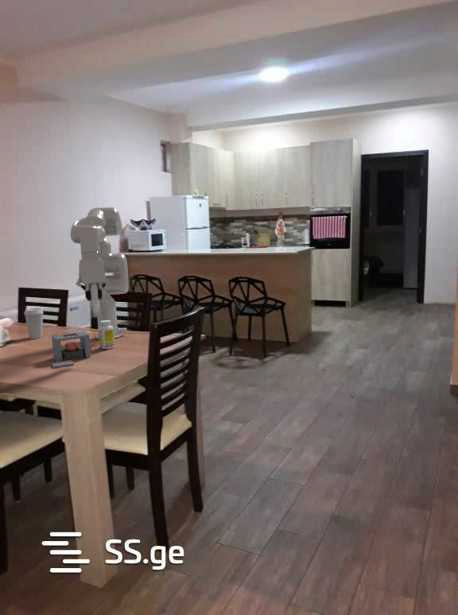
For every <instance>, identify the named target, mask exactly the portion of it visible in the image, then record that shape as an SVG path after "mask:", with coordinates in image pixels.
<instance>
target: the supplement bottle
mask: <svg viewBox="0 0 458 615" xmlns="http://www.w3.org/2000/svg"><path fill="white" fill-rule="evenodd" d="M100 324H101V326H100V327H99V331H98V334H99V339H98V340H99V347H100V349H102V350H111V349H114V348H115V338H114V331H113V327H112V326H111V325H110V324H111V321H110V320H103V321H100Z"/></svg>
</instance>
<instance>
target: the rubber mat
mask: <svg viewBox="0 0 458 615" xmlns="http://www.w3.org/2000/svg"><path fill="white" fill-rule="evenodd" d="M50 364H51V367H52V368H53V369H59V368H64V367H70V365H71V366H74V365H75V362H74V361H72V360H67V361H65V360H62V361H61V362H57V361H55V362H51V363H50Z"/></svg>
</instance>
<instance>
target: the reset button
mask: <svg viewBox="0 0 458 615" xmlns="http://www.w3.org/2000/svg"><path fill="white" fill-rule="evenodd" d="M64 346H65V349H66V351H75V350H77V347H78V343H77V341H69V342H65V345H64Z"/></svg>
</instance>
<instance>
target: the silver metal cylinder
mask: <svg viewBox="0 0 458 615" xmlns="http://www.w3.org/2000/svg"><path fill="white" fill-rule="evenodd" d="M88 290H89V291H90V301H88V302H89V312H90V318H98V317H100V304H99V291H98V283H93V284H89V289H88Z"/></svg>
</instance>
